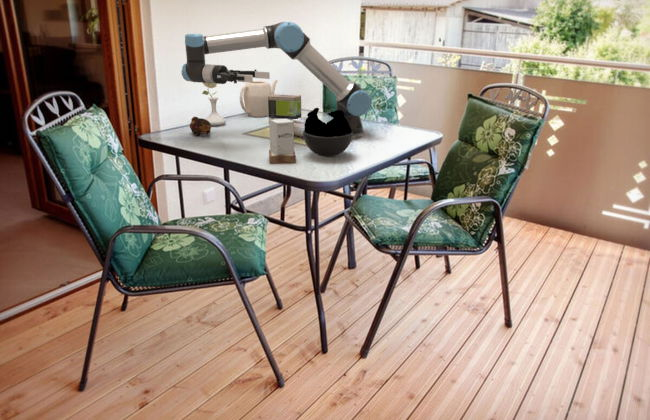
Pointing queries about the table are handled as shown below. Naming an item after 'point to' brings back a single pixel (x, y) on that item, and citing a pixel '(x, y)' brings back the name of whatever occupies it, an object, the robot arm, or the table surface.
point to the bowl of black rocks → (327, 133)
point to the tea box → (284, 106)
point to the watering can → (256, 97)
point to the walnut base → (282, 158)
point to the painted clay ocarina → (200, 126)
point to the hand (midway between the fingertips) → (261, 77)
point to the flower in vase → (213, 108)
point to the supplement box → (281, 136)
